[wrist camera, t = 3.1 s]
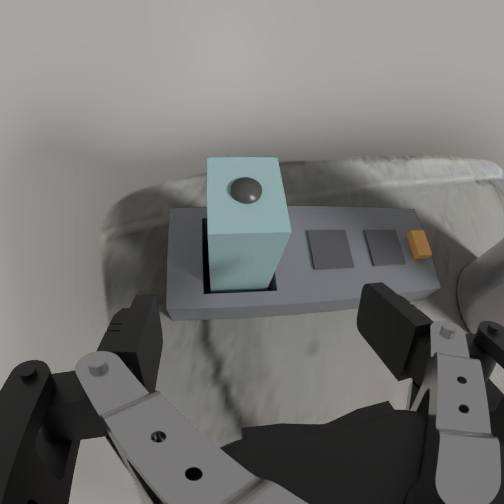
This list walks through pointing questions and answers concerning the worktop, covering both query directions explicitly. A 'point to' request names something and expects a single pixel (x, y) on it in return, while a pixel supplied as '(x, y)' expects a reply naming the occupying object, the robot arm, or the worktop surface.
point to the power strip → (306, 263)
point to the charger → (245, 222)
